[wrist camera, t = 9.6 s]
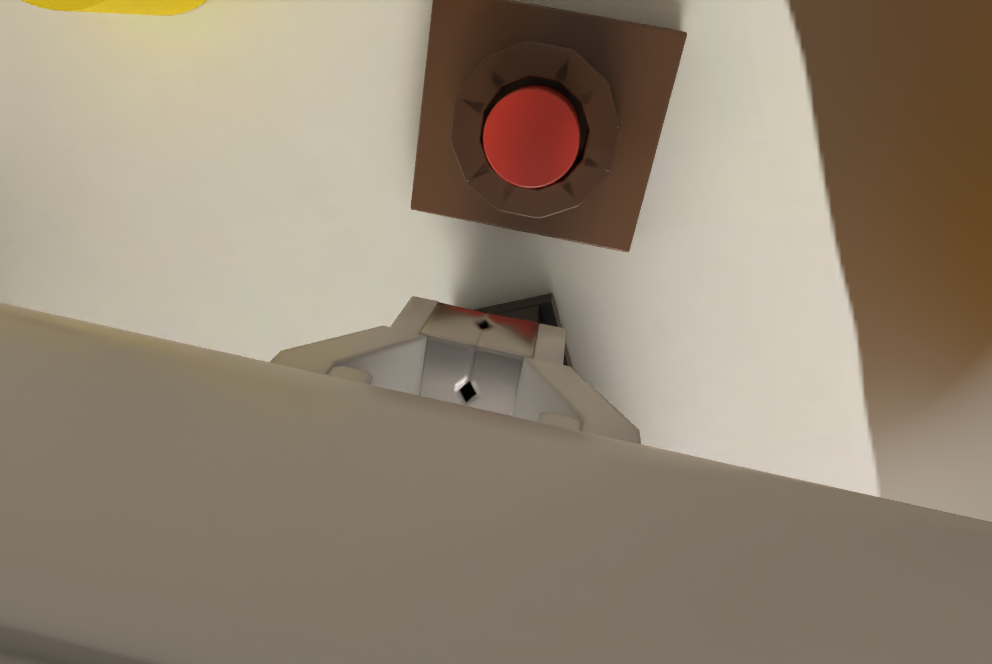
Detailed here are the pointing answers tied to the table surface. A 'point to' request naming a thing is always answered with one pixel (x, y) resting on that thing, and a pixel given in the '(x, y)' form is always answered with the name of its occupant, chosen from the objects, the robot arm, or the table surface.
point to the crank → (120, 6)
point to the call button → (532, 136)
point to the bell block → (569, 70)
